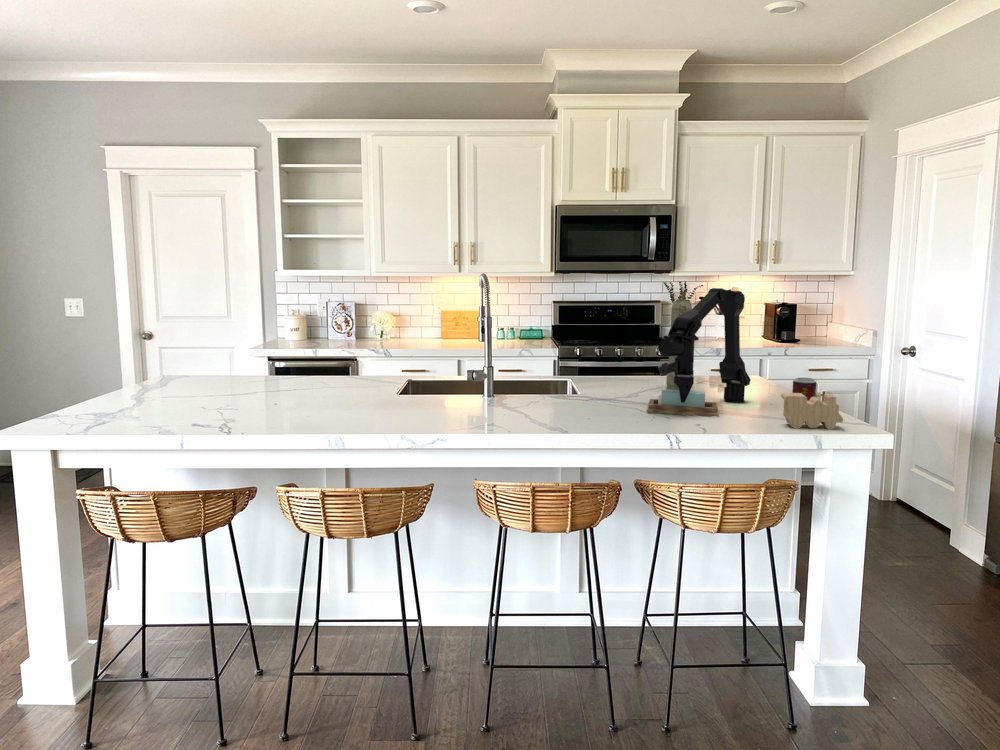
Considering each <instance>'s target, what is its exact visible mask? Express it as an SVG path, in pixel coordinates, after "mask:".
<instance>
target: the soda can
mask: <svg viewBox="0 0 1000 750" xmlns="http://www.w3.org/2000/svg"><path fill="white" fill-rule="evenodd" d="M817 385H818V383H817V380H815V379H814V378H811V377H796V378H795V379H793V380H792V389H791V390H792V392H791V393H801V394H803V395H804V396H806V397H807V401H809V400H810V398H811V397H815V398H817V397H816V396H817Z"/></svg>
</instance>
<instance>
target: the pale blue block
mask: <svg viewBox="0 0 1000 750" xmlns="http://www.w3.org/2000/svg"><path fill="white" fill-rule="evenodd" d="M657 399H658V405H675V406H694V407H705V402H706V391H700V390H690V392H689V394H688V396H687V398H686V400H685V402H684V403H682V402H681V398H680V392H679V390H667V389H661V392H659V393H658V397H657Z"/></svg>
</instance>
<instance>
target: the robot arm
mask: <svg viewBox="0 0 1000 750" xmlns="http://www.w3.org/2000/svg"><path fill="white" fill-rule="evenodd" d="M745 301H746V298H745V294H744V293H743V292H742V291H741V290H727V289H724V288H723V287H722V288H720V287H719V288H718V287H712V288H710V289H709V290H708V293H706V294H705V295H704V296H703V298H702V299H701V300H700V301H699V302H698V303H696V305H695V306H693V307H692V310H690V311H688V312H685V313H683V314H681V315H680V316H678V317H677V318H676V319H675V321H674V324H673V326H672V328H671V330H670V329H669V330H670V332H669V331H668V333H667V335H663V339H661V340H660V342H659V345H658V353H659V354H660V355H661V357H664V358H667V357H668V358H669V356H676V357H675V361H672V362H669V361H668V362H664V363H661V364H660V365H658V366H657V368H658V372H659V375H660V376H661V377H664V376H665V375H667V374H668V373H672V372H674V374H675V376H674V383H675V384H676V385H677V386H678V387H679V392H680V398H681V402H682V403H684V402H685V400H686V398H687V396H688V394H689V392H690V391H692V390H691V389H692V388H693V386H694V383H695V377H694V360H695V343H696V341H699V337H698V336H697V335H696V334H697V333H698V332H699V330H700V328H701V327H702V324H703V323H702V321H703V320H704V318H706V317H707V316H708V315H709V314H710V313H711V311H712V310H713V309H714V308H715V307H716V306H718V307H719V311H720V312H721V314H722V315H723V316H724V320H723V321H724V324H723V325H724V358H723V359H722V360H721V361H719V371H718V373H719V374H720V380H721V383H722V384H725V386H724V387H723V400H724V402H726V403H727V402H728V403H743V404H744V403H745V390H746V387H748V386H750V383H751V381H752V380H751V379H752V378H750V376H749V374H748V372H747V371H746V366H745V365H746V364H745V361H744V360H743V359H742V356H741V347H740V346H741V345H740V344H741V343H740V341H741V340H740V334H741V333H740V315H741V313H742V312H743V310H744V309H745Z"/></svg>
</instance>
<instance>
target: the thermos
mask: <svg viewBox="0 0 1000 750" xmlns="http://www.w3.org/2000/svg"><path fill="white" fill-rule="evenodd" d="M670 309H671V310H670V311H671V312H670V321H671V324H670V328H669V330H668V333H669V332H670V330H671V328H672V326H673V324H674V321H675V319H676V318H677V317H678V316H680V315H681V314H683V313H685V312H688V311H690V310H692V309H693V307H692V304H691V301H689V299H675V300H674V301H673V302H672V305H671V308H670ZM675 357H676V356H669V357H668V363H669V362H672V361H675ZM674 376H675V374H674V372H672V373H668V374H666V390H679V387H678V386H677V385H676V384H675V383H674Z"/></svg>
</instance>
